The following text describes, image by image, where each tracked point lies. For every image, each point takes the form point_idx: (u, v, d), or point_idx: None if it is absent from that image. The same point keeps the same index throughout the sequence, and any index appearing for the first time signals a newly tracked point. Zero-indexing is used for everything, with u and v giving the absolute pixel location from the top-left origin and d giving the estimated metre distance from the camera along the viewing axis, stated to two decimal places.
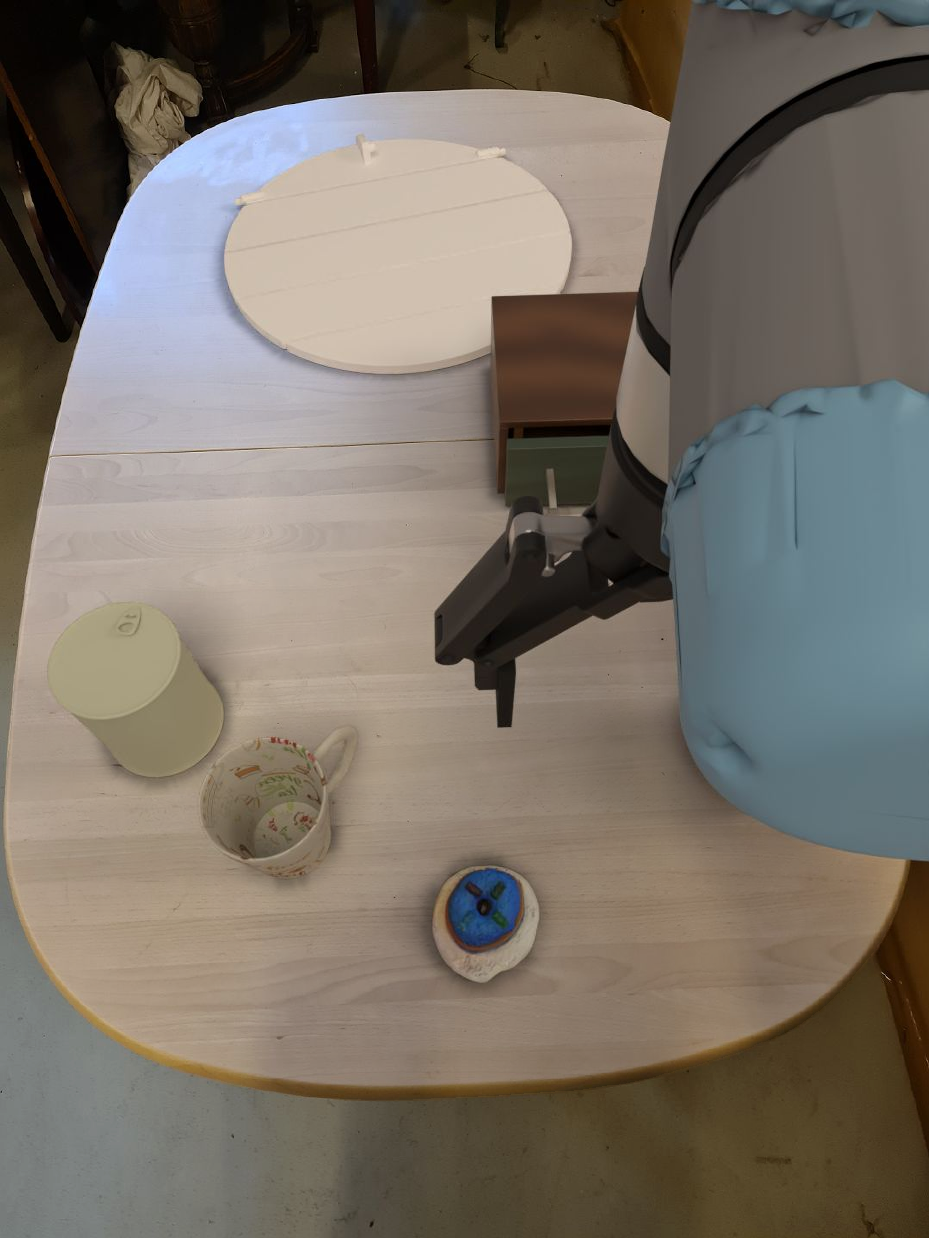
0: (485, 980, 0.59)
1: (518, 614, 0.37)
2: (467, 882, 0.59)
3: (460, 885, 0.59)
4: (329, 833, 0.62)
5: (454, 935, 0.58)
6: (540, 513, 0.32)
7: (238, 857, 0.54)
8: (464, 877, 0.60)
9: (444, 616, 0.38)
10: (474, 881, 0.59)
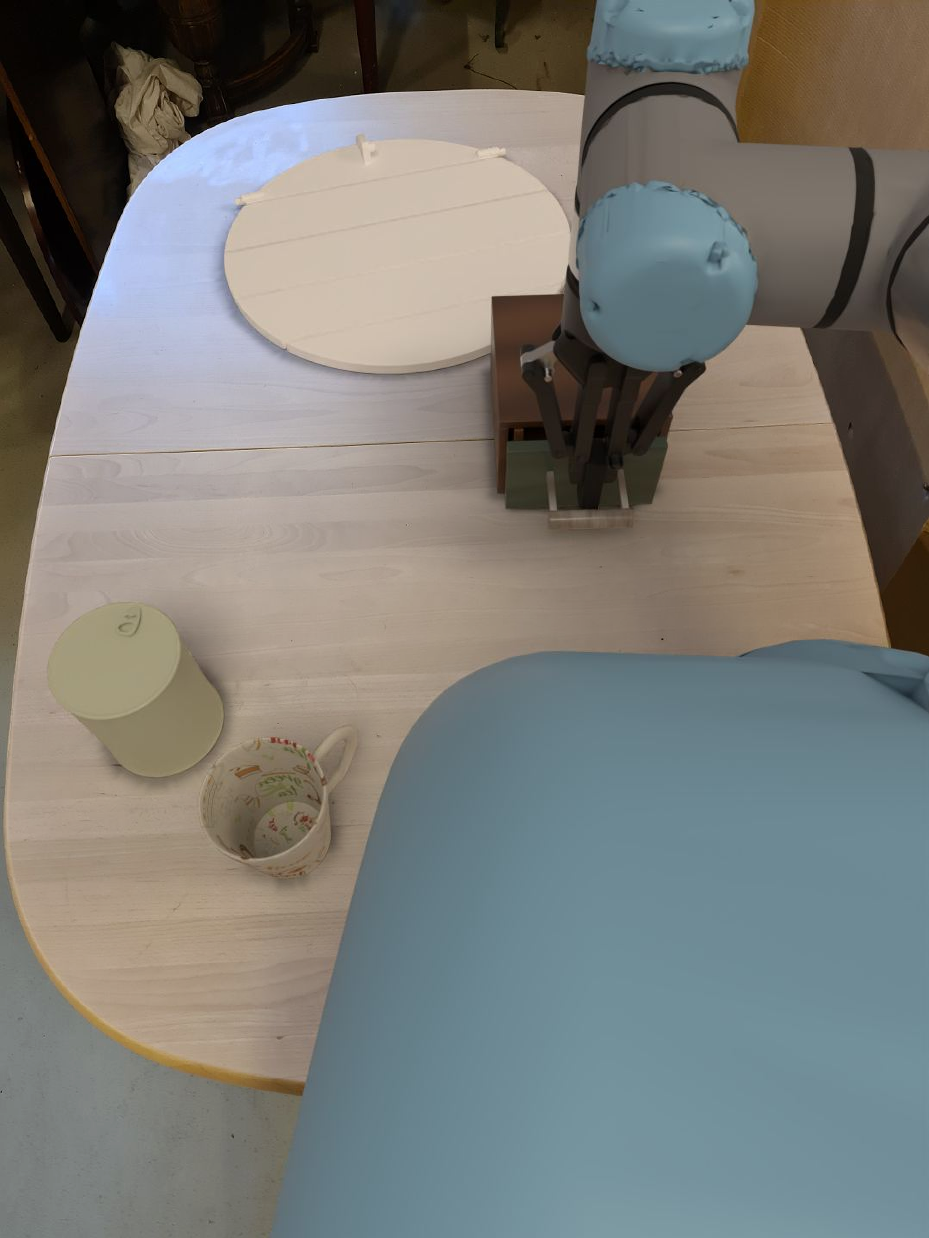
0: None
1: (576, 423, 0.64)
2: None
3: None
4: (329, 833, 0.62)
5: None
6: (530, 351, 0.59)
7: (238, 857, 0.54)
8: None
9: None
10: None
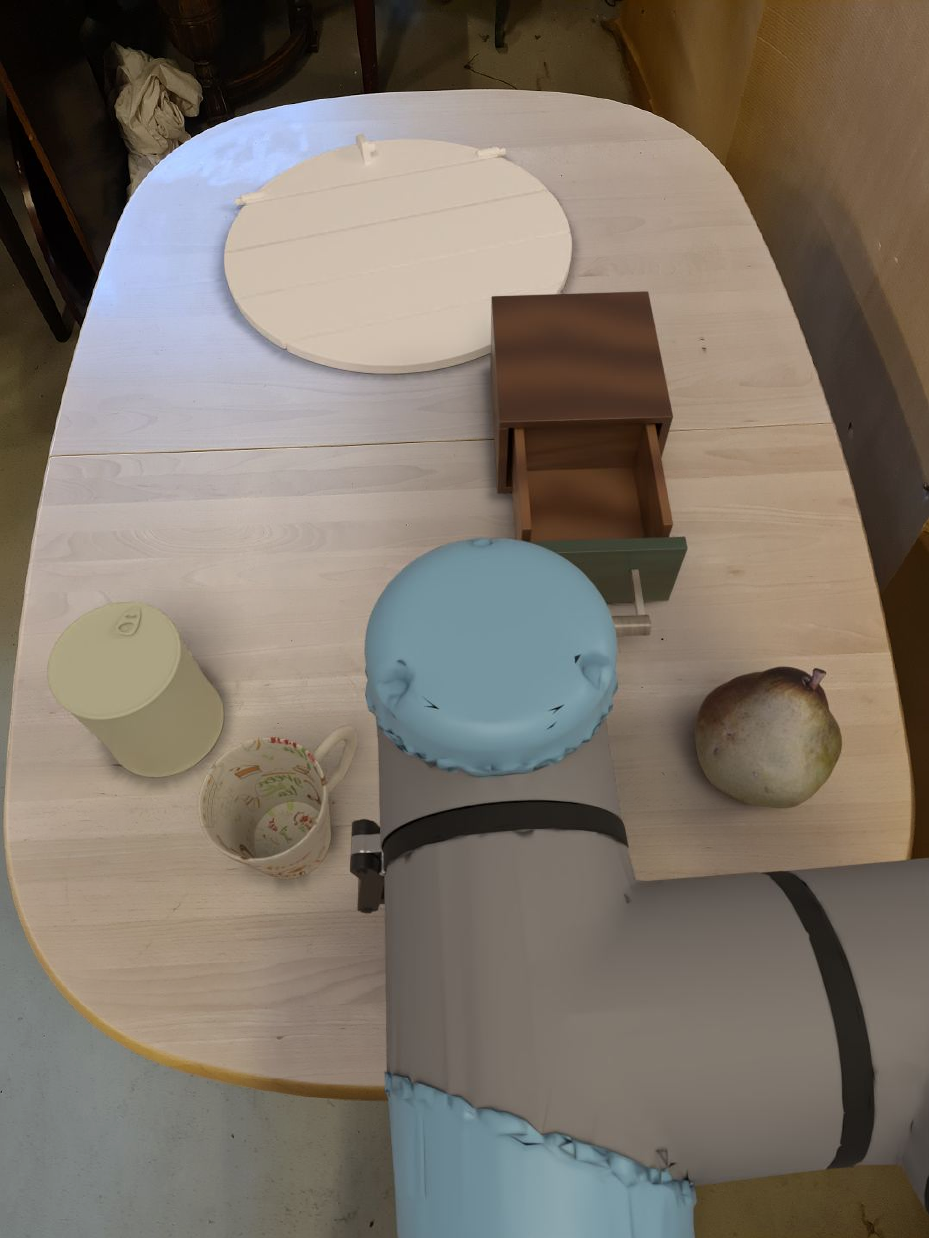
0: None
1: None
2: None
3: None
4: (329, 833, 0.62)
5: None
6: (368, 833, 0.43)
7: (238, 857, 0.54)
8: None
9: None
10: None
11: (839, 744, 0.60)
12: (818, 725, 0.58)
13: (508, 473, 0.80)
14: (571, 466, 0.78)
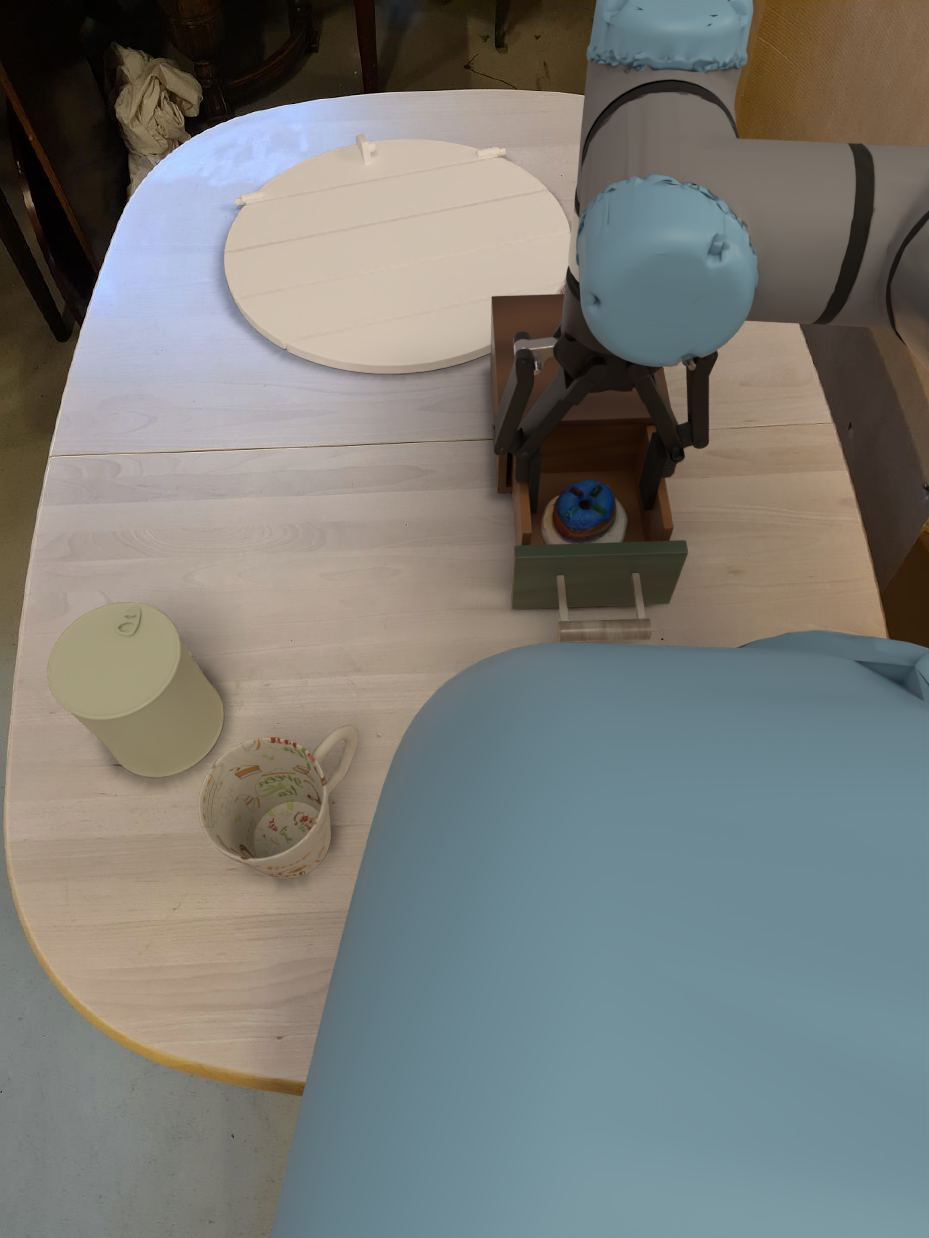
0: None
1: (535, 418, 0.63)
2: (571, 487, 0.74)
3: (565, 490, 0.74)
4: (329, 833, 0.62)
5: (562, 524, 0.73)
6: (527, 339, 0.58)
7: (238, 857, 0.54)
8: None
9: (495, 424, 0.65)
10: (576, 487, 0.74)
11: None
12: None
13: (508, 473, 0.80)
14: (571, 469, 0.78)
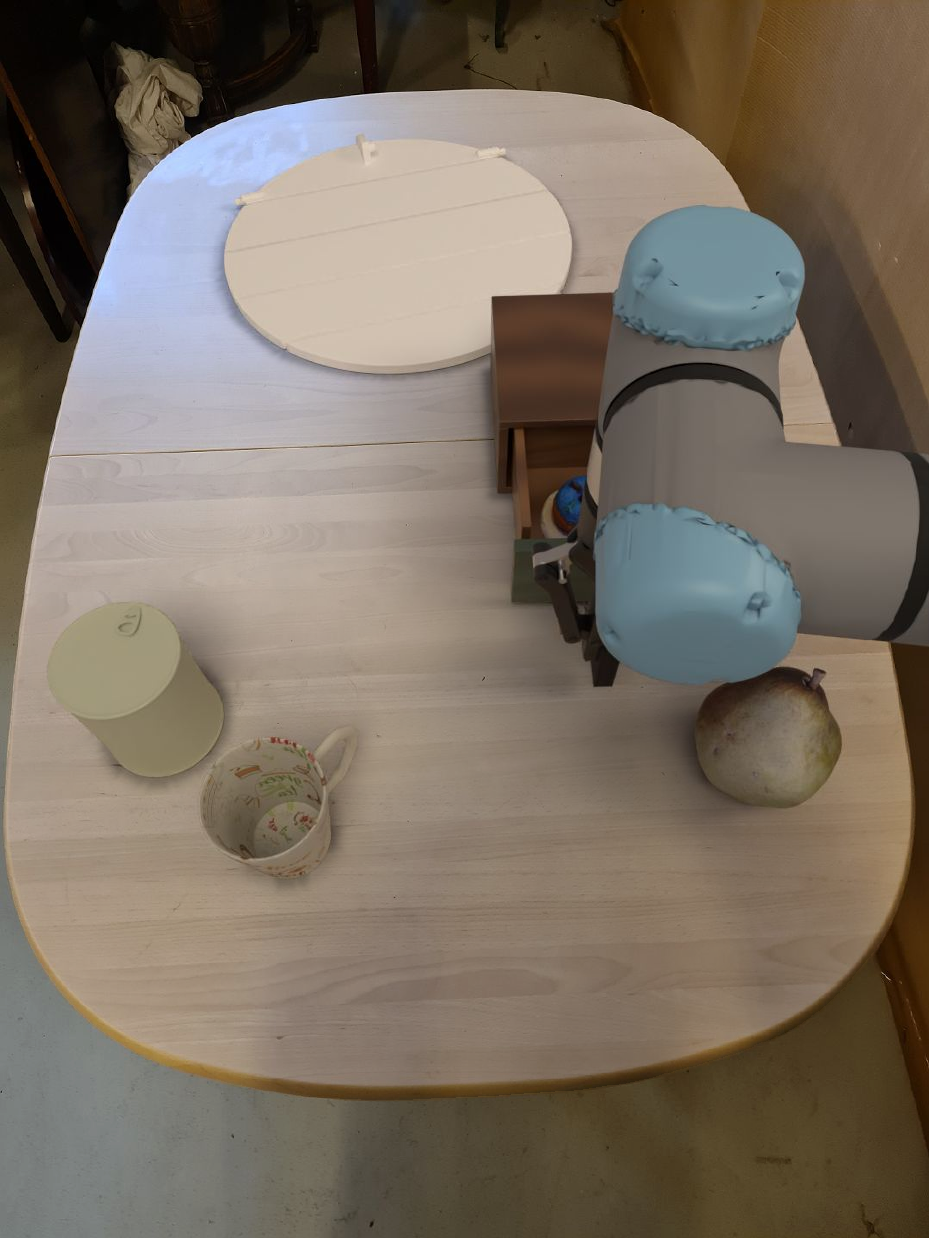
0: None
1: (591, 610, 0.60)
2: (570, 482, 0.74)
3: (564, 485, 0.74)
4: (329, 833, 0.62)
5: (561, 519, 0.73)
6: (543, 551, 0.54)
7: (238, 857, 0.54)
8: (567, 481, 0.75)
9: None
10: (576, 481, 0.74)
11: (839, 744, 0.60)
12: (818, 725, 0.58)
13: (508, 473, 0.80)
14: (571, 464, 0.78)
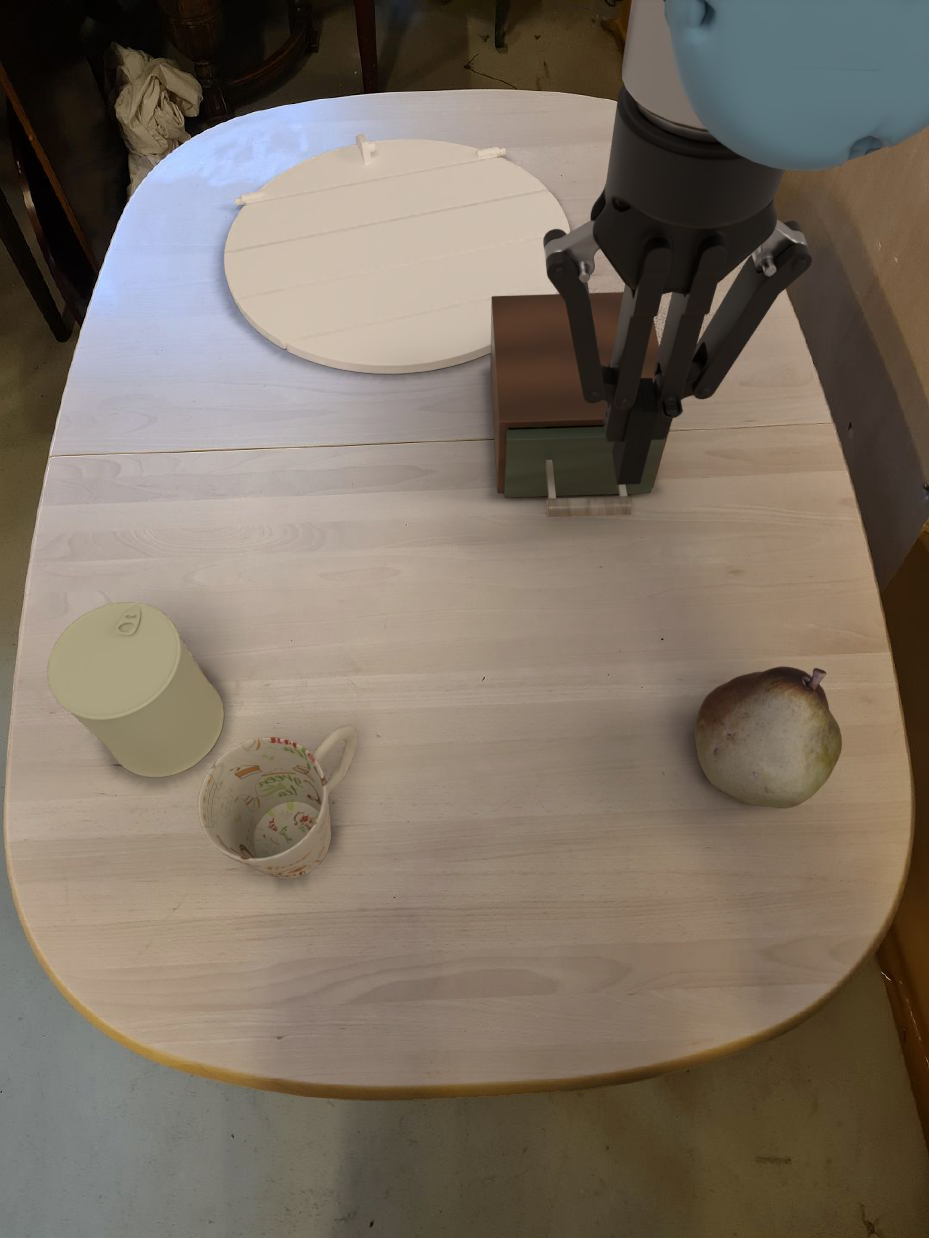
0: None
1: (618, 351, 0.47)
2: None
3: None
4: (329, 833, 0.62)
5: None
6: (559, 238, 0.41)
7: (238, 857, 0.54)
8: None
9: None
10: None
11: (839, 744, 0.60)
12: (818, 725, 0.58)
13: None
14: None
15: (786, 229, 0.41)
